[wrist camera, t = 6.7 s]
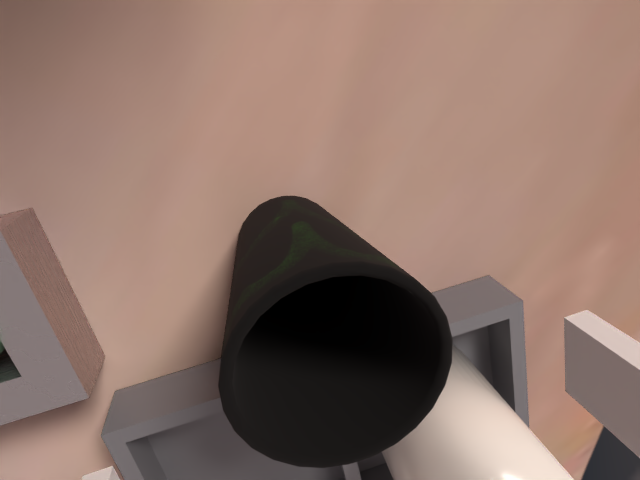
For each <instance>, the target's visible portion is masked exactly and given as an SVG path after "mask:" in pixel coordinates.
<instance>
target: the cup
mask: <svg viewBox="0 0 640 480" xmlns="http://www.w3.org/2000/svg"><path fill="white" fill-rule="evenodd" d="M452 344H453V338H452V335H451V331H450V327H449V323H448V319H447V316H446V314H445V313H444V311H443V309H442V308H441V306H440V304H439V303H438V301H437V299H436V298H435V296H434V295H433V294H432V293H430V292H429V291H428V290H427V289H426V288H425V287H424V286H423V285H421V284H420V283H419V282H418V281H417V280H416V279H415V278H413V277H412V276H411V275H409V274H408V273H407V272H405V271H404V270H403V269H402V268H400V267H399V266H398V265H396V264H395V263H394V262H392V261H391V260H390V259H388V258H387V257H386V256H385V255H383V254H382V253H381V252H379V251H378V250H377V249H375V248H374V247H373V246H371V245H370V244H369V243H368V242H366V241H365V240H364V239H362V238H361V237H360V236H358V235H357V234H356V233H355V232H353V231H352V230H351V229H349V228H348V227H347V226H345V225H344V224H343V223H341V222H340V221H339V220H338V219H336V218H335V217H334V216H332V215H331V214H330V213H328V212H327V211H326V210H325V209H323V208H322V207H321V206H319V205H318V204H316V203H314V202H312V201H311V200H309V199H306V198H302V197H297V196H281V197H277V198H273V199H270V200H268V201H266V202H264V203H262V204H261V205H259V206H258V207H257V208H256V209H254V210H253V211H252V212H251V213H250V214H249V216H248V217H247V219H246V220H245V221H244V223H243V225H242V228H241V230H240V233H239V238H238V244H237V251H236V258H235V265H234V272H233V279H232V286H231V293H230V300H229V307H228V314H227V320H226V327H225V334H224V341H223V348H222V355H221V363H220V373H219V383H218V388H219V393H220V398H221V403H222V408H223V411H224V413H225V415H226V417H227V419H228V420H229V422H230V424H231V426H232V428H233V429H234V431H235V432H236V433H237V434H238V435H239V436H240V437H241V438H242V439H243V440H244V441H245V442H246V443H247V444H248V445H249V446H250V447H251V448H252V449H254V450H256V451H258V452H260V453H261V454H263V455H265V456H267V457H269V458H271V459H272V460H275V461H279V462H283V463H286V464H290V465H294V466H298V467H315V468H327V467H334V466H341V465H348V464H352V463H355V462H358V461H361V460H364V459H366V458H369V457H372V456H375V455H377V454H378V453H380V452H382V451H384V450H386V449H388V448H389V447H391V446H393V445H395V444H397V443H398V442H399V441H400V440H402V439H403V438H404V437H405V436H407V435H408V434H409V433H410V432H412V431H413V430H414V429H415V428H416V427H417V426H418V425H419V424H420V423H421V422H422V420H423V419H424V418H425V417H426V416H427V415H428V413H429V412H430V411H431V410H432V409H433V407H434V405H435V403H436V402H437V400H438V398H439V396H440V394H441V392H442V391H443V389H444V387H445V385H446V382H447V378H448V375H449V371H450V368H451V364H452Z"/></svg>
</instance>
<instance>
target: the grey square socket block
mask: <svg viewBox="0 0 640 480" xmlns="http://www.w3.org/2000/svg"><path fill="white" fill-rule="evenodd" d="M0 341H1V342H2V344H3V346H4V347H5V349H4V350H3V351H2V353H1V354H0V425H4V424H7V423H10V422H13V421H16V420H20V419H23V418H26V417H29V416H33V415H36V414H39V413H42V412H46V411H49V410H52V409H55V408H58V407H62V406H65V405H68V404H71V403H75V402H78V401H81V400H84V399H87V398H89V397H90V394H91V392H92V389H93V386H94V384H95V381H96V379H97V376H98V374H99V371H100V369H101V366H102V364H103V361H104V358H105V355H104V353H103V351H102V349H101V347H100V345H99V343H98V341H97V339H96V337H95V335H94V333H93V331H92V329H91V327H90V325H89V323H88V321H87V319H86V317H85V315H84V313H83V311H82V308H81V306H80V304H79V302H78V300H77V298H76V296H75V294H74V292H73V290H72V288H71V286H70V284H69V282H68V280H67V278H66V276H65V274H64V272H63V270H62V268H61V266H60V264H59V262H58V260H57V258H56V256H55V253H54V251H53V249H52V247H51V245H50V243H49V241H48V239H47V237H46V235H45V233H44V231H43V229H42V227H41V225H40V223H39V221H38V219H37V217H36V215H35V213H34V211H33V209H32V208H29V209H25V210H21V211H17V212H13V213H9V214H5V215H2V216H0Z"/></svg>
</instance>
